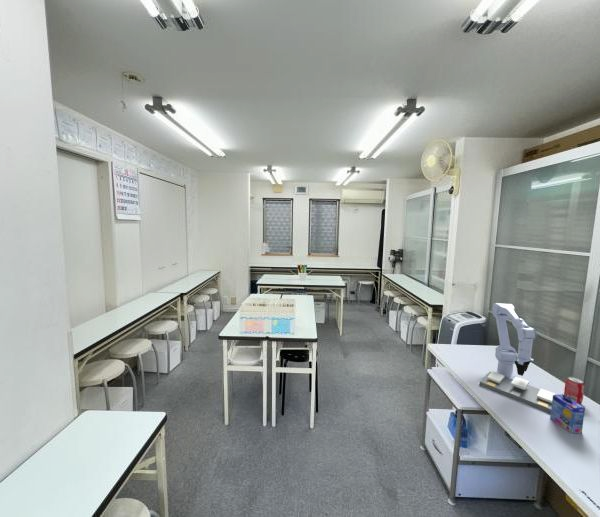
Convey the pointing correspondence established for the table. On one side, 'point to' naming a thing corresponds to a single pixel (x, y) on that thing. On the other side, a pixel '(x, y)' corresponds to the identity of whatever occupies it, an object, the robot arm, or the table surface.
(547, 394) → the switch
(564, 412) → the ink cartridge box
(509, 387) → the switch panel
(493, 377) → the switch
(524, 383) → the switch
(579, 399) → the soda can
